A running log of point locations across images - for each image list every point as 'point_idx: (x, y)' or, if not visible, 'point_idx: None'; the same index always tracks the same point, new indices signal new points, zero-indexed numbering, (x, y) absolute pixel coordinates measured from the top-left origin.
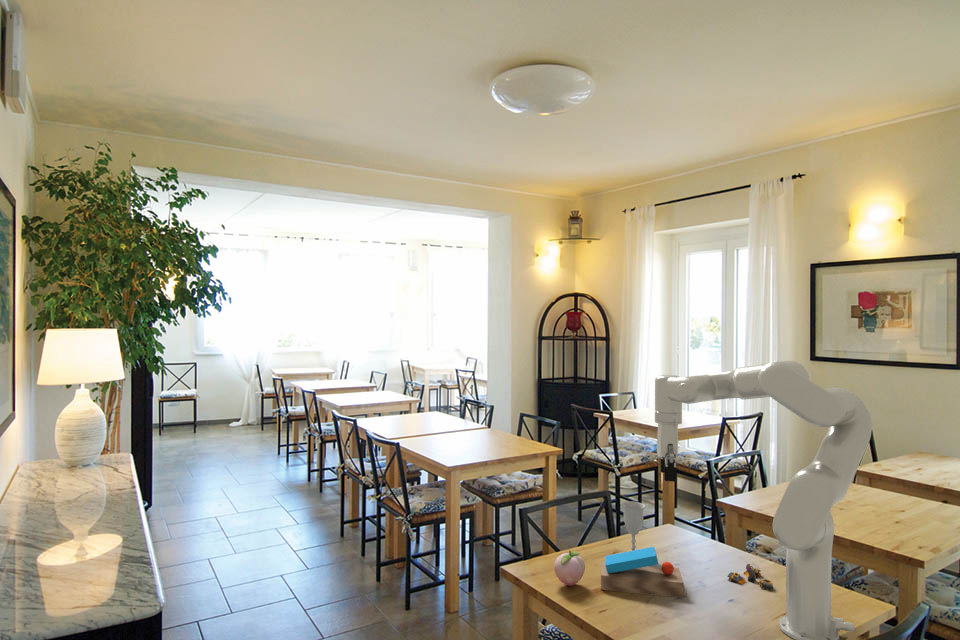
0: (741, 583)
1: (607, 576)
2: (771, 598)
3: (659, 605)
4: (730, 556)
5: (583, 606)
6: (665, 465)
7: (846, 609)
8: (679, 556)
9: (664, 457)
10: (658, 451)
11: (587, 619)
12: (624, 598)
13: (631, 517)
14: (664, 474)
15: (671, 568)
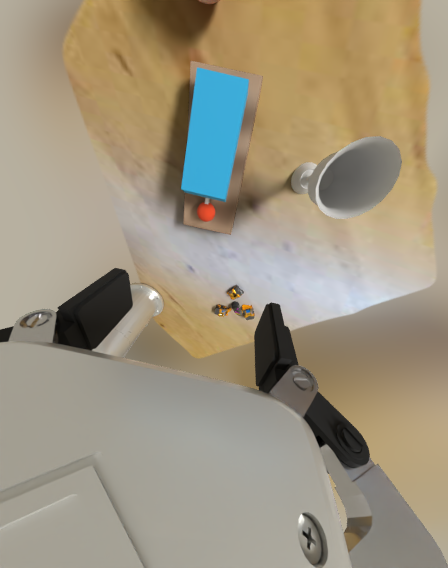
0: (229, 293)
1: (190, 80)
2: (199, 302)
3: (162, 179)
4: (298, 313)
5: (126, 10)
6: (52, 318)
7: (188, 338)
8: (311, 259)
9: (273, 383)
10: (70, 406)
11: (82, 14)
12: (173, 123)
13: (320, 168)
14: (96, 281)
15: (198, 216)
